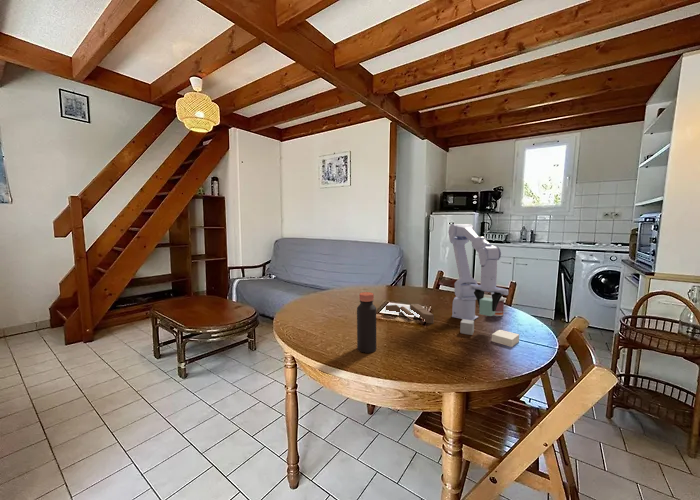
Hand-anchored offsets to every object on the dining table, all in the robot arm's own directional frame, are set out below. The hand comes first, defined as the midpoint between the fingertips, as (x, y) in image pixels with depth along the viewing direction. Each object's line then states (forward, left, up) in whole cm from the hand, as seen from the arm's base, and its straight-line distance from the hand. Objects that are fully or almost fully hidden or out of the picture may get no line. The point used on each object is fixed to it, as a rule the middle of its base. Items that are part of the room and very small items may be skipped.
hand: (487, 309), depth 119 cm
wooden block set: (-32, -9, -10) cm, 34 cm away
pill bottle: (-5, +24, -9) cm, 26 cm away
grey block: (-5, -7, -9) cm, 12 cm away
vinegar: (-23, -47, -9) cm, 53 cm away
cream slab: (+9, -6, -9) cm, 14 cm away
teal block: (0, 0, -2) cm, 2 cm away
